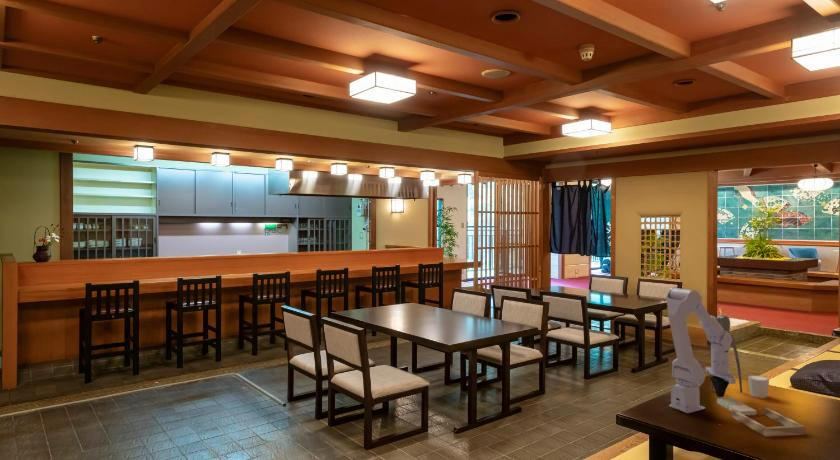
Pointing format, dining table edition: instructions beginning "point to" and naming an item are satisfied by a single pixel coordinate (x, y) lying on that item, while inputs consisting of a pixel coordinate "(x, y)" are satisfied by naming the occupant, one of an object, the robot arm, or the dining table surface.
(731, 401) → the celadon tile
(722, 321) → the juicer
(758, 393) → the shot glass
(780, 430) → the box
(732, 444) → the dining table surface
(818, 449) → the dining table surface
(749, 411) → the cream tile
